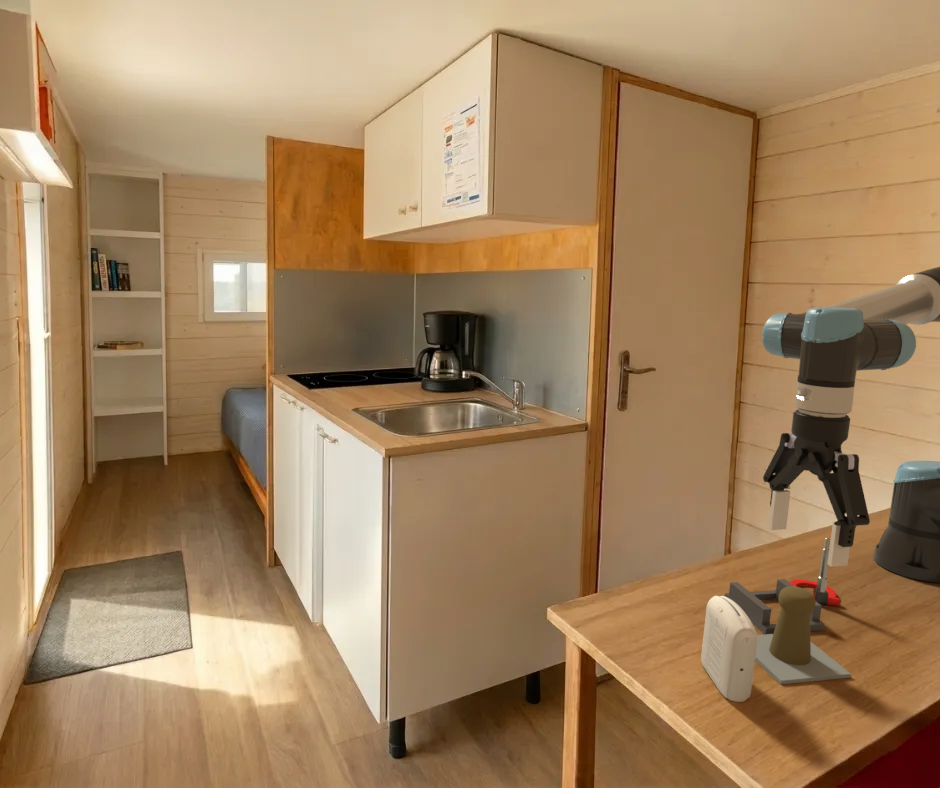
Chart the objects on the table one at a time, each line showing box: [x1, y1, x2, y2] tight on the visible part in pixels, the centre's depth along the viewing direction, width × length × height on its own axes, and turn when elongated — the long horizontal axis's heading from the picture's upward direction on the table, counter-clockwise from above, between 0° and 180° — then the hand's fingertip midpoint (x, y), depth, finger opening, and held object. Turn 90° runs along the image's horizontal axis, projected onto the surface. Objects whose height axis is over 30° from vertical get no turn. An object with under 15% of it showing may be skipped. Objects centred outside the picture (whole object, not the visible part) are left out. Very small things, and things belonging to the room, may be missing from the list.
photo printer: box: [700, 595, 758, 703], centre depth 97 cm, size 10×4×12 cm, turn 3°
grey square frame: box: [724, 578, 825, 635], centre depth 117 cm, size 11×12×4 cm
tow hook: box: [788, 537, 841, 607], centre depth 125 cm, size 8×13×9 cm
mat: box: [755, 634, 852, 685], centre depth 104 cm, size 12×12×1 cm
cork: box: [769, 586, 815, 665], centre depth 103 cm, size 6×6×11 cm
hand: (805, 546), depth 101 cm, fingers open, 13 cm apart
